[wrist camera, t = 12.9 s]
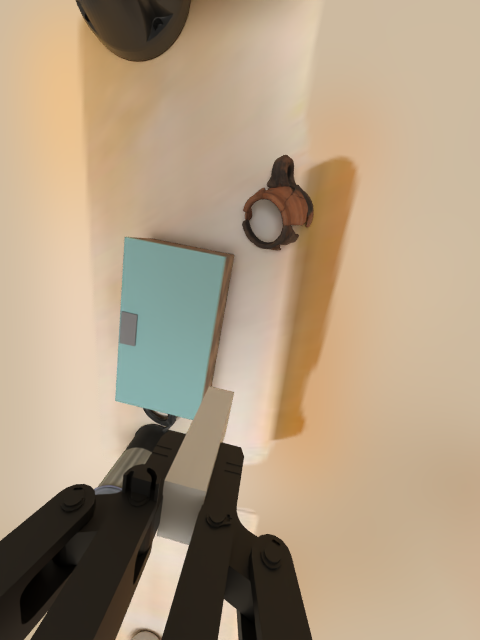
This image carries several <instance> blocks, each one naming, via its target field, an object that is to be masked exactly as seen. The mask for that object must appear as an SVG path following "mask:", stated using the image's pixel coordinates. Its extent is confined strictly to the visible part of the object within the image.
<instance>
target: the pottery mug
mask: <svg viewBox="0 0 480 640" xmlns="http://www.w3.org/2000/svg"><path fill="white" fill-rule="evenodd" d="M293 174H294V163H293V160H292V159H291V158H290V157H289V156H288V155H283V156H281V157H279V158H278V159H276V161H275V162H274V165H273V168H272V174H271V178H270V180H269V181H268V183H267V186H268V187H269V188H270V189H268V190H265V188H262V189H261V190H259V191H258V192H257V193H255V194H254V195H253V196H252V197H250V198H249V199H248V201H247V202H246V203H245V206H244V209H243V211H244V212H245V221H243V223H242V226H243V229H244V231H245V234H246V236H247V237H248V239H249V240H250V241H251V242H252V243H254V244H255V245H256V246H258V247H260V248H263V249H271V250H281V248H280V244H281V245H287V244H289V243H292V242H295V241H296V240H297V239H298V237H299V235H298V234H295V232H294V231H293V229H292V226H291V225H303V224H304V223H305V222H306V217H308V220H307V223H306V227H309V226H310V224H311V222H312V219H313V204H312V201H311V199H310V197H309V196H308V194H307V193H306V192H304V191H303V190H302V189H301V188H300V187H299V185H296V183H295V181H294V176H293ZM292 189H294V191H292ZM260 199H267V200H270V201H272V202H273V203H274V204H275V205H276V206H277V207H278V208H279V210H280V212H281V215H282V219H283V229H282V232H281V235H280V236H279V237H278V239H276V240H275V241H274V242H269V243H268V242H263V241H261V240H260V239H258V238H257V237H256V236H255V234H254V233H253V231H252V229H251V227H250V223H249V221H250V219H251V218H252V209H251V207H252V205H253V204H254V203H255V202H256V201H258V200H260Z"/></svg>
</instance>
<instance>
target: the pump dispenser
mask: <svg viewBox="0 0 480 640" xmlns="http://www.w3.org/2000/svg"><path fill="white" fill-rule="evenodd" d="M131 640H159V639H158V637H157V636H156V635H155V634H153V633H151V632H148V631H143V632H140V633H138V634H136V635H135V636H134V637H133V638H132V639H131Z"/></svg>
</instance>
